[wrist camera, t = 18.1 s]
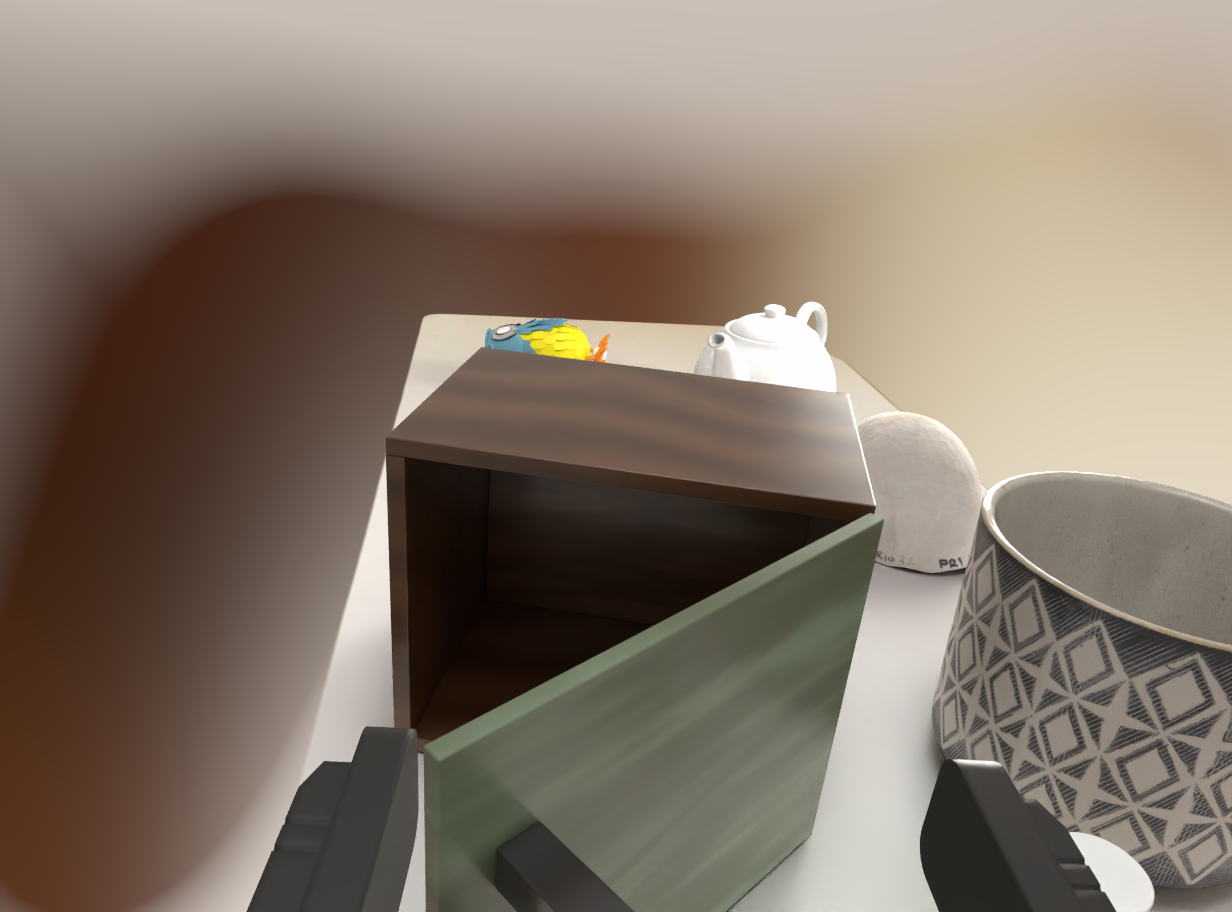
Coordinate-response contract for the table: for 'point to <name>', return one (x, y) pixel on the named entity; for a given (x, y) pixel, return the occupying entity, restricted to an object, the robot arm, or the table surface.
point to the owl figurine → (546, 340)
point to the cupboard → (589, 514)
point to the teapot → (772, 350)
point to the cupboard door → (657, 754)
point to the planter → (1102, 663)
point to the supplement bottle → (1116, 873)
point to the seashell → (921, 491)
